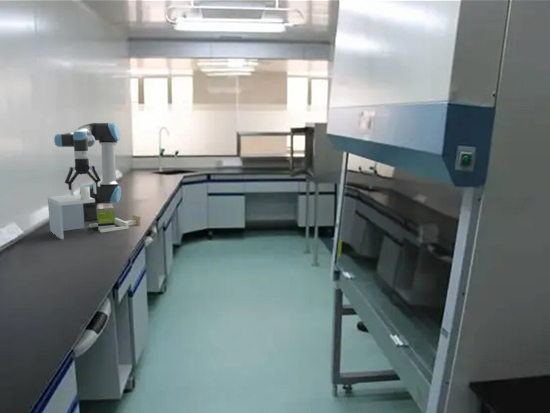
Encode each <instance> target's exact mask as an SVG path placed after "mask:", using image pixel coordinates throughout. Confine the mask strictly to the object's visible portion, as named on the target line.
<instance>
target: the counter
mask: <svg viewBox="0 0 550 413" xmlns="http://www.w3.org/2000/svg"><path fill="white" fill-rule="evenodd" d="M73 195H74V196H72V195H71V194H65V195H64V194H63V195H55V196H52V195H51V196H47V205H48V206H47V207H48V218H49V220H48V221H49V232H50V231H51V232H52V233H53V235H54V234H55V235H56V236H55V235H54V236H55V237H57V238H59V239H60V240H65V239H64V238H65V236H64V231H65V232H66V231H71V230H78V229H79V230H80V229H85V220H84V212H83V203H93V202H95V199H94V198H91V197H90V199H81V195H80V193H76V194H73ZM51 232H50V233H51ZM52 233H51V234H52Z"/></svg>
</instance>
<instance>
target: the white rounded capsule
mask: <svg viewBox="0 0 550 413" xmlns="http://www.w3.org/2000/svg"><path fill="white" fill-rule="evenodd" d="M79 194H80V195H81V199H90V187H89V186H85V185H81V186H79Z"/></svg>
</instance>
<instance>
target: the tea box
mask: <svg viewBox="0 0 550 413" xmlns="http://www.w3.org/2000/svg"><path fill="white" fill-rule="evenodd" d="M113 204H114V203H112V204H110V203H100V204H99V205H97V220H96V221H97V223H98V227H97V230H98V232H100V229H107V228H114V227H116V225H115V218H116V217H115V207H114V205H113Z"/></svg>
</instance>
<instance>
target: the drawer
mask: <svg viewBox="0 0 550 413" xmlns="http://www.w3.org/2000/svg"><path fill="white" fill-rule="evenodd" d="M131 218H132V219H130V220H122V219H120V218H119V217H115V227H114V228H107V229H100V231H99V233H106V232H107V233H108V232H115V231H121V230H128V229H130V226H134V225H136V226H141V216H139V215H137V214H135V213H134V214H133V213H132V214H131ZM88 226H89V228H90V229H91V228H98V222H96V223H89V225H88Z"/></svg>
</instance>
